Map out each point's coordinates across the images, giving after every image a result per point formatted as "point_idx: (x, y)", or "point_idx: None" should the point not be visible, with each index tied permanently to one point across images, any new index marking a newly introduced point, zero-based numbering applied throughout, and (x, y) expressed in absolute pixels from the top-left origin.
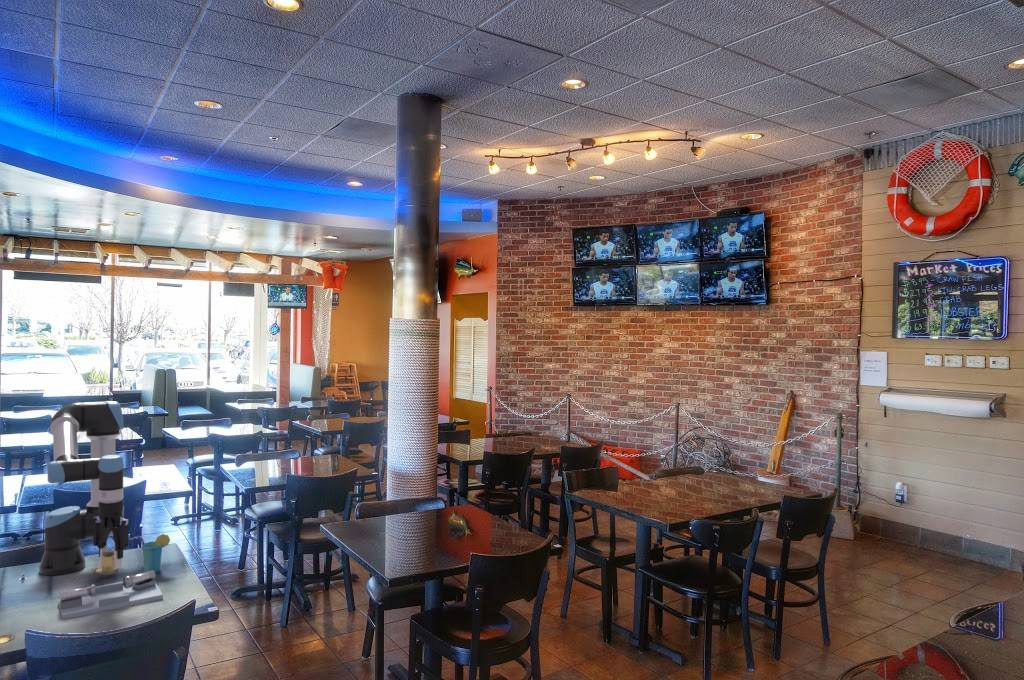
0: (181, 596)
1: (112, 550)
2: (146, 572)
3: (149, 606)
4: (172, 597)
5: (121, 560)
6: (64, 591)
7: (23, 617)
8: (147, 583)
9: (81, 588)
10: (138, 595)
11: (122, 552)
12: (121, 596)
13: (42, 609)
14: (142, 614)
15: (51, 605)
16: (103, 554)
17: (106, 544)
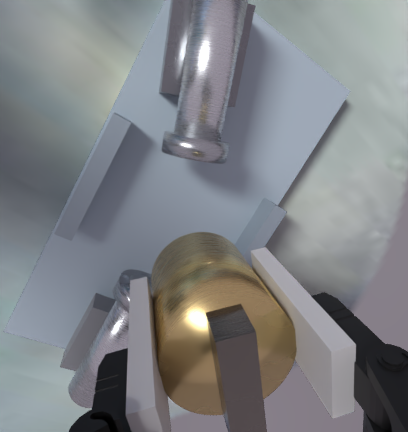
0: (391, 35)
1: (248, 376)
2: (224, 21)
3: (339, 169)
4: (364, 62)
5: (286, 272)
6: (89, 394)
7: (36, 419)
8: (242, 60)
9: (122, 343)
10: (264, 147)
11: (363, 331)
12: (270, 236)
13: (16, 367)
14: (361, 223)
15: (2, 338)
16: (163, 391)
17: (107, 428)
